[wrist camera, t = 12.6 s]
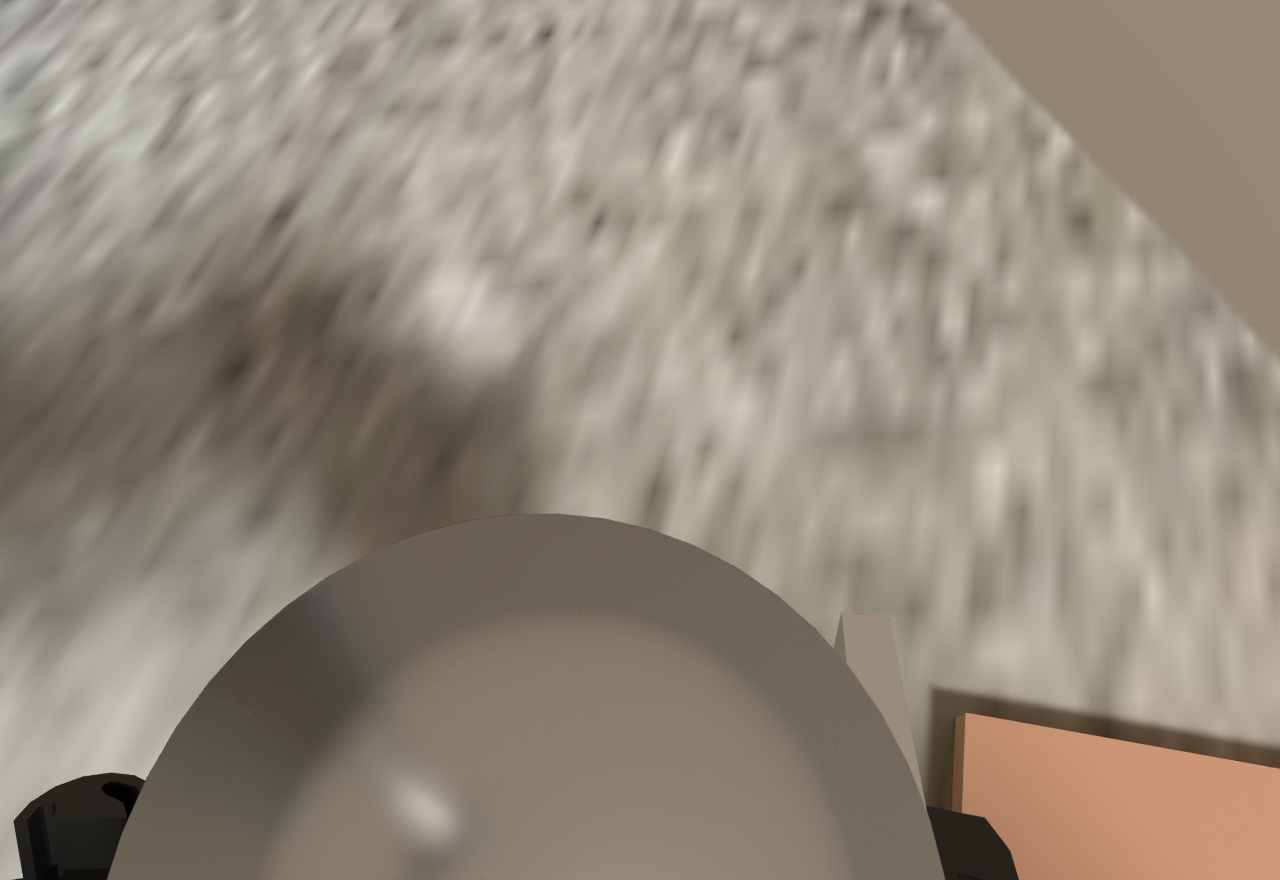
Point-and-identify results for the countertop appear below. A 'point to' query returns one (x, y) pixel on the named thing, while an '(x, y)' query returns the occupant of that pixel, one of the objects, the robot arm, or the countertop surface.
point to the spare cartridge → (532, 727)
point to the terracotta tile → (1115, 805)
